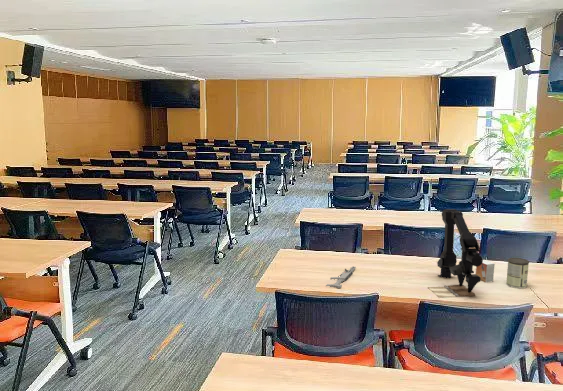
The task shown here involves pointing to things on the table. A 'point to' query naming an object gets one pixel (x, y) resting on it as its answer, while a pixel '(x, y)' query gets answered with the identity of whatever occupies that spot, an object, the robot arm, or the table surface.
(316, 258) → the table surface
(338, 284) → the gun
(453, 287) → the leaf
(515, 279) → the coffee can
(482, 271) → the small box
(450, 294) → the base leaf
